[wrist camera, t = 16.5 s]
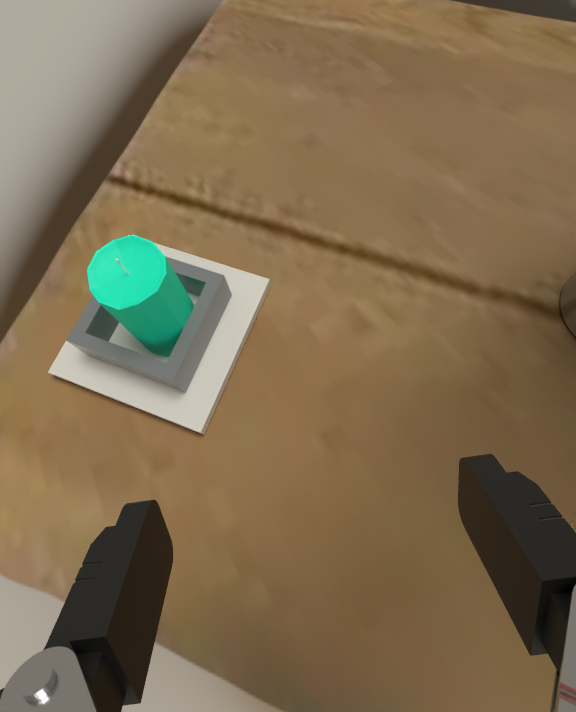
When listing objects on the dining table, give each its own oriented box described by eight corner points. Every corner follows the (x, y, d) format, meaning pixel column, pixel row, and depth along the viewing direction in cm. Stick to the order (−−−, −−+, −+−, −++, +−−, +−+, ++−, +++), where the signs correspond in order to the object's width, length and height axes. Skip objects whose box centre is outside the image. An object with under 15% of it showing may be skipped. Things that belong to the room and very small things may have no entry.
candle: (146, 297, 43) (85, 221, 32) (206, 300, 43) (166, 224, 31) (134, 355, 41) (65, 296, 30) (197, 359, 41) (150, 300, 29)
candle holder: (132, 241, 47) (111, 211, 42) (270, 285, 44) (265, 258, 39) (55, 376, 42) (22, 359, 38) (204, 435, 39) (188, 424, 35)
